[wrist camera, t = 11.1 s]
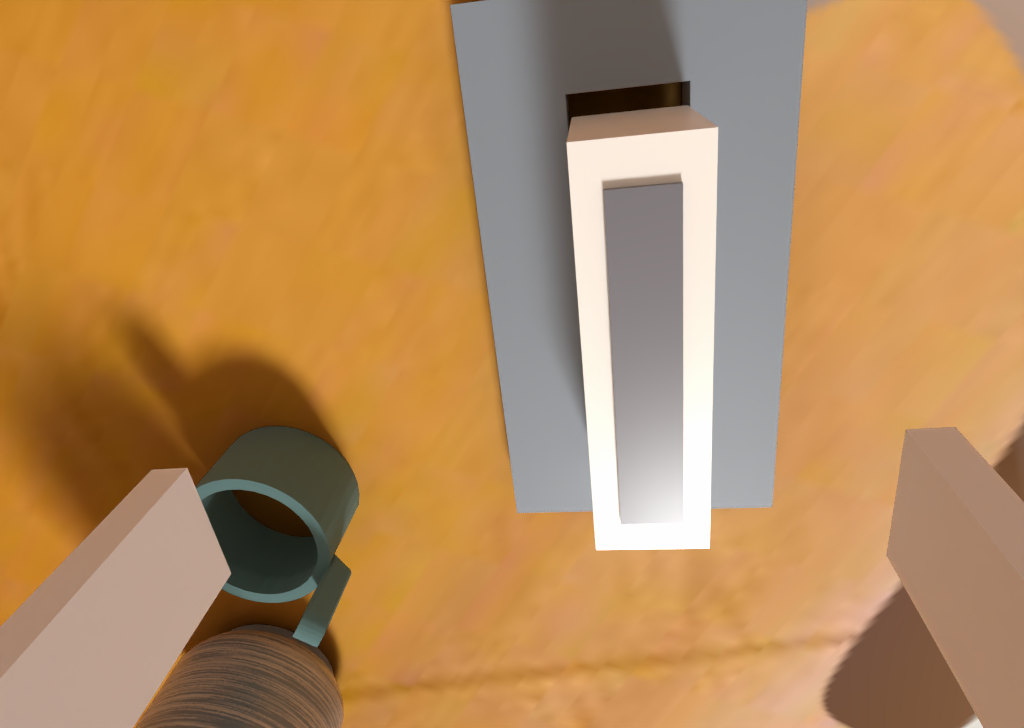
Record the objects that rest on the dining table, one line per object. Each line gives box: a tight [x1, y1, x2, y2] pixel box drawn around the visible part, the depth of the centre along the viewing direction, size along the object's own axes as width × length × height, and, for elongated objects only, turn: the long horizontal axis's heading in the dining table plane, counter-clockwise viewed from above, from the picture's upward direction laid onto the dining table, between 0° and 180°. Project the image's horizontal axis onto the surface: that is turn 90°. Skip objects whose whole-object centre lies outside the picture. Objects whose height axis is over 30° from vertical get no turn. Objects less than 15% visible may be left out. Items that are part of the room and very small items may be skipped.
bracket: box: [195, 426, 359, 647], centre depth 36 cm, size 9×9×9 cm
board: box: [450, 0, 807, 513], centre depth 31 cm, size 24×13×2 cm, turn 6°
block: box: [566, 105, 718, 550], centre depth 28 cm, size 16×4×9 cm, turn 6°
